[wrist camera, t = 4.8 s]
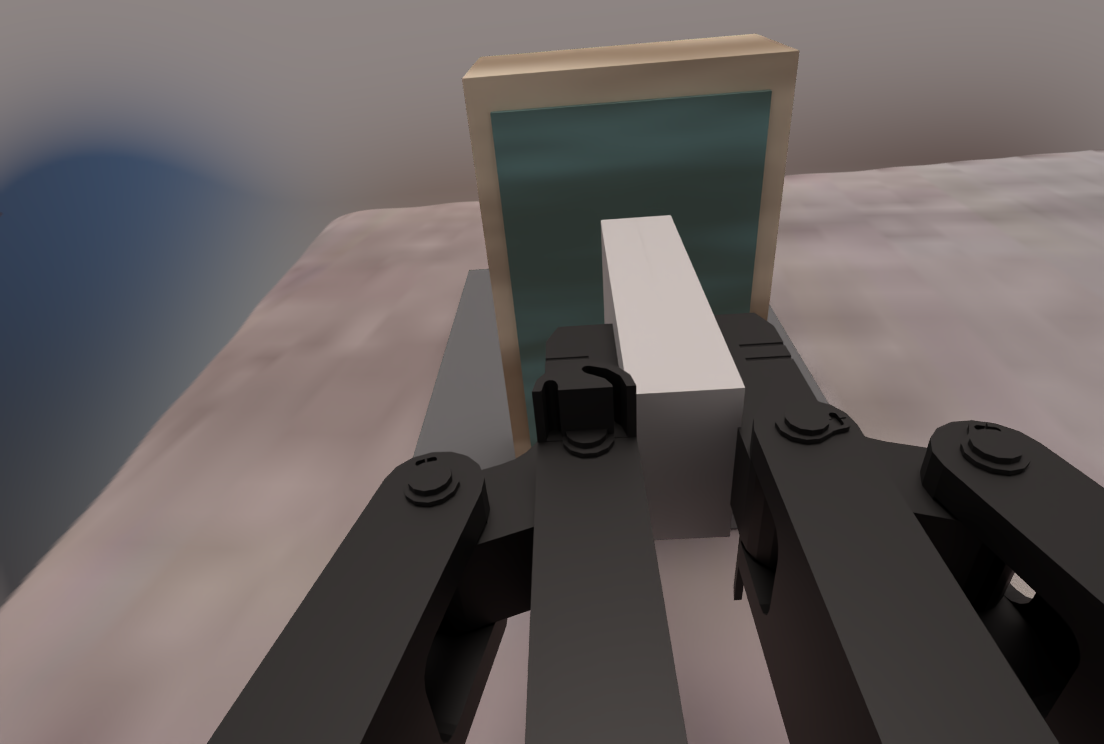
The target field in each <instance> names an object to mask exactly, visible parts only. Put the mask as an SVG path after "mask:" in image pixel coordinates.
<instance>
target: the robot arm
mask: <svg viewBox="0 0 1104 744" xmlns="http://www.w3.org/2000/svg"><path fill="white" fill-rule="evenodd" d="M601 241H602V268H603V295H604V321H605V324H596V325H580V326H564V327H557V329H556V330H555V331H554V332H553V334H552V335H551V336H550V338H549V339H548V340H547V341H546V355H545V360H546V362H545V373H544V374H543V375H542V376H541V377H540V378H538V379H537V380H536V382H535V385H534V387H533V390H532V399H533V407H534V416H535V425H536V433H537V442H536V444H535V445H534V446H533V447H531V448H530V449H529V450H528V451H527V452H526V453H524V454H522V455H521V456H519V457H517V458H516V459H514V460H511V461H508V462H506V463H503V464H500V465H497V466H493V467H490V468H486V469H483V470H481V468H480V465H479V464H478V463H476V462H475V461H474V460H473V459H471V458H470V457H469V456H466V455H463V454H459V453H455V452H431V453H427V454H424V455H420V456H416V457H413V458H411V459H410V460H408V461H406V462H404V463H403V464H401V465H399V466H397V467H396V468H395V469H394V470H393V471H392V472H391V473H390V474H389V475H388V476H387V477H386V478H385V479H384V481H383V482H382V484H381V485H380V487H379V488H378V490H377V491H376V493H375V494H374V496H373V497H372V499H371V500H370V502H369V503H368V505H367V506H366V508H365V509H364V511H363V512H362V514H361V515H360V517H359V518H358V520H357V521H356V522H355V524H354V525H353V527H352V528H351V530H350V531H349V533H348V534H347V536H346V537H345V539H344V540H343V542H342V543H341V545H340V546H339V548H338V549H337V551H336V552H335V554H334V555H333V557H332V558H331V560H330V561H329V563H328V564H327V566H326V567H325V569H324V570H323V572H322V573H321V575H320V576H319V578H318V579H317V581H316V582H315V583H314V585H313V586H312V588H311V589H310V591H309V592H308V594H307V595H306V597H305V598H304V600H303V601H302V603H301V604H300V606H299V607H298V609H297V610H296V612H295V613H294V615H293V616H292V618H291V619H290V621H289V622H288V624H287V625H286V627H285V628H284V630H283V631H282V633H281V634H280V636H279V637H278V639H277V640H276V642H275V643H274V645H273V646H272V647H271V649H270V650H269V652H268V653H267V655H266V656H265V658H264V659H263V661H262V662H261V664H260V665H259V667H258V668H257V670H256V671H255V673H254V674H253V676H252V677H251V679H250V680H249V682H248V683H247V685H246V686H245V688H244V689H243V691H242V692H241V694H240V695H239V697H238V698H237V700H236V701H235V703H234V704H233V706H232V707H231V708H230V710H229V711H228V713H227V714H226V716H225V717H224V719H223V720H222V722H221V723H220V725H219V726H218V728H217V729H216V731H215V732H214V734H213V735H212V737H211V738H210V740H209V741H208V743H207V744H465V742H466V739H467V736H468V734H469V731H470V728H471V725H472V722H473V719H474V716H475V714H476V711H477V708H478V705H479V702H480V699H481V696H482V694H483V691H484V688H485V685H486V682H487V679H488V676H489V674H490V671H491V668H492V665H493V662H494V659H495V657H496V654H497V651H498V648H499V645H500V642H501V639H502V637H503V634H504V631H505V628H506V624H507V618H509V617H512V616H514V615H517V614H520V613H523V612H526V611H529V610H531V612H530V636H529V660H528V684H527V708H526V732H525V744H688V743H687V737H686V731H685V725H684V719H683V713H682V707H681V701H680V695H679V689H678V683H677V677H676V671H675V665H674V659H673V653H672V647H671V641H670V635H669V629H668V623H667V617H666V611H665V604H664V598H663V592H662V586H661V580H660V574H659V568H658V562H657V556H656V550H655V544H654V540H664V539H685V538H707V537H729V536H730V529H731V519H732V512H733V515H734V518H735V522H736V525H737V528H738V531H739V534H740V537H739V545H738V554H737V562H736V571H735V579H734V600H742V593H743V585H744V587H745V591H746V594H747V598H748V601H749V605H750V608H751V611H752V615H753V618H754V622H755V625H756V629H757V632H758V636H759V639H760V642H761V646H762V649H763V653H764V656H765V660H766V663H767V667H768V670H769V674H770V677H771V680H772V684H773V687H774V691H775V694H776V698H777V701H778V705H779V708H780V711H781V715H782V718H783V722H784V725H785V729H786V732H787V736H788V739H789V742H790V744H1104V488H1103V487H1102V486H1100V485H1099V484H1098V483H1096V482H1095V481H1093V480H1092V479H1091V478H1089V477H1088V476H1086V475H1085V474H1083V473H1082V472H1081V471H1079V470H1078V469H1076V468H1075V467H1074V466H1072V465H1071V464H1069V463H1068V462H1066V461H1065V460H1064V459H1062V458H1061V457H1059V456H1058V455H1057V454H1055V453H1054V452H1052V451H1051V450H1050V449H1048V448H1047V447H1045V446H1044V445H1042V444H1041V443H1039V442H1038V441H1036V440H1034V439H1032V438H1030V437H1029V436H1027V435H1025V434H1023V433H1021V432H1020V431H1017V430H1014V429H1011V428H1007V427H1004V426H1001V425H998V424H995V423H989V422H980V421H973V420H970V421H958V422H950V423H948V424H946V425H943V426H941V427H939V428H937V429H936V431H935V432H934V434H933V435H932V436H931V438H930V441H929V444H928V447H927V448H925V447H918V446H912V445H905V444H898V443H892V442H885V441H881V440H876V439H871V438H868V437H865V436H864V434H863V433H862V431H861V430H860V428H859V427H858V425H857V424H856V423H855V422H854V421H853V420H852V419H851V418H850V417H849V416H848V415H847V414H846V413H845V412H843V411H841V410H839V409H837V408H835V407H834V406H832V405H830V404H826V403H823V402H819V401H818V400H817V399H816V397H815V395H814V393H813V392H812V390H811V388H810V387H809V385H808V383H807V381H806V380H805V378H804V376H803V375H802V373H801V371H800V369H799V368H798V366H797V364H796V363H795V361H794V359H791V354H790V352H789V351H788V349H787V347H786V345H784V344H783V340H782V339H781V337H780V335H779V333H778V332H777V330H776V328H775V327H774V325H772V324H771V323H769V322H768V321H766V320H765V319H763V318H762V317H760V316H759V315H757V314H756V313H738V314H722V315H714V314H713V312H712V310H711V307H710V305H709V303H708V300H707V298H706V296H705V294H704V291H703V289H702V287H701V284H700V282H699V280H698V277H697V275H696V273H695V270H694V268H693V266H692V263H691V261H690V259H689V256H688V254H687V252H686V250H685V247H684V245H683V243H682V240H681V238H680V236H679V233H678V231H677V229H676V226H675V224H674V222H673V219H672V217H671V215H665V216H651V217H637V218H623V219H609V220H601ZM1014 573H1016V574H1017V575H1018V576H1019V577H1020V578H1021V579H1023V580H1024V581H1025V582H1026V583H1027V584H1028V585H1029V586H1030V587H1031V588H1032V589H1033V590H1034V591H1035V592H1036V594H1035V596H1034V597H1033V599H1031V598H1028V597H1025V596H1024V595H1023V594H1021V593H1020V592H1019V591H1017V590H1016V589H1015V588H1014V587H1013V586H1012V585H1011V584H1010V581H1011V579H1012V577H1013V575H1014Z"/></svg>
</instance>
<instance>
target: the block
mask: <svg viewBox="0 0 1104 744" xmlns="http://www.w3.org/2000/svg"><path fill="white" fill-rule="evenodd" d="M798 58H799V50H796V49H794V48H791V47H789V46H786V45H783V44H781V43H778V42H776V41H773V40H771V39H768V38H766V37H763V36H761V35H758V34H748V35H736V36H724V37H712V38H700V39H688V40H677V41H665V42H653V43H642V44H630V45H617V46H606V47H594V48H582V49H570V50H558V51H546V52H535V53H523V54H510V55H499V56H487V57H480V58H479V59H478V60H477V61H476V63H475V64H474V65H473V66H472V67H471V69H470V70H469V71H468V72H467V73H466V74H465V76H464V77H463V78H462V82H463V88H464V96H465V103H466V110H467V117H468V124H469V131H470V138H471V145H472V153H473V160H474V167H475V174H476V180H477V188H478V195H479V202H480V209H481V216H482V223H483V231H484V238H485V245H486V252H487V259H488V266H489V273H490V280H491V287H492V294H493V301H494V308H495V316H496V323H497V330H498V337H499V344H500V351H501V358H502V365H503V372H504V379H505V386H506V393H507V401H508V408H509V415H510V422H511V429H512V436H513V443H514V450H515V457H516V458H517V457H519V456H521V455H522V454H524V453H526V452H527V451H528V450H529V449H530V448H531V447H533V446H534V445H535V444H536V442H537V433H536V425H535V416H534V407H533V399H532V390H533V387H534V385H535V382H536V380H537V379H538V378H540V377H541V376H542V375H543V374H544V373H545V362H546V360H545V355H546V341H547V340H548V339H549V338H550V336H551V335H552V334H553V332H554V331H555V330H556V329H557V327H564V326H580V325H596V324H605V321H604V295H603V268H602V241H601V220H609V219H623V218H637V217H651V216H665V215H671V217H672V219H673V222H674V224H675V226H676V229H677V231H678V233H679V236H680V238H681V240H682V243H683V245H684V247H685V250H686V252H687V254H688V256H689V259H690V261H691V263H692V266H693V268H694V270H695V273H696V275H697V277H698V280H699V282H700V284H701V287H702V289H703V291H704V294H705V296H706V298H707V300H708V303H709V305H710V307H711V310H712V312H713V314H714V315H722V314H738V313H756V314H757V315H759V316H760V317H762V318H763V319H765V320H766V321H767V318H768V310H769V301H770V293H771V285H772V276H773V268H774V259H775V251H776V243H777V234H778V226H779V218H780V209H781V201H782V192H783V184H784V176H785V167H786V159H787V150H788V142H789V134H790V125H791V117H792V109H793V100H794V92H795V83H796V75H797V66H798Z"/></svg>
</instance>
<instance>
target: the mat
mask: <svg viewBox="0 0 1104 744" xmlns="http://www.w3.org/2000/svg"><path fill="white" fill-rule="evenodd" d="M767 321H768V322H769V323H771V324H772V325H774V327H775V328H776V330H777V332H778V333H779V335H780V337H781V339H782V340H783V344H784V345H786V347H787V349H788V351H789V352H790V354H791V359H794V361H795V363H796V364H797V366H798V368H799V369H800V371H801V373H802V375H803V376H804V378H805V380H806V381H807V383H808V385H809V387H810V388H811V390H812V392H813V393H814V395H815V397H816V399H817V400H818V401H819V402H823V403H826V404H829V403H828V402H827V400H826V398H825V397H824V395H823V393H822V392H821V390H820V388H819V387H818V385H817V383H816V382H815V380H814V378H813V377H812V375H811V373H810V372H809V370H808V368H807V367H806V365H805V363H804V362H803V360H802V358H801V357H800V355H799V353H798V352H797V350H796V348H795V346H794V345H793V343H792V341H791V340H790V338H789V336H788V335H787V333H786V331H785V330H784V328H783V326H782V325H781V323H780V321H779V320H778V318H777V316H776V315H775V313H774V311H773V310H772V308H771V306H770V305H769V310H768V318H767ZM431 452H455V453H459V454H463V455H466V456H469V457H470V458H471V459H473V460H474V461H475V462H476V463H478V464H479V465H480V468H481V470H483V469H486V468H490V467H493V466H497V465H500V464H503V463H506V462H508V461H511V460H514V459H516V457H515V450H514V443H513V436H512V429H511V422H510V415H509V408H508V401H507V393H506V386H505V379H504V372H503V365H502V358H501V351H500V344H499V337H498V330H497V323H496V316H495V308H494V301H493V294H492V287H491V280H490V273H489V269H479V270H469V272H468V276H467V279H466V282H465V286H464V289H463V292H462V296H461V299H460V302H459V306H458V309H457V312H456V316H455V319H454V322H453V326H452V329H451V332H450V336H449V339H448V342H447V346H446V349H445V352H444V356H443V359H442V362H441V366H440V369H439V372H438V376H437V379H436V382H435V386H434V389H433V392H432V396H431V399H430V402H429V406H428V409H427V412H426V416H425V419H424V422H423V426H422V429H421V432H420V436H419V439H418V442H417V446H416V449H415V452H414V456H413V457H416V456H420V455H424V454H427V453H431ZM731 528H737V525H736V522H735V518H734V515H733V512H732V519H731Z"/></svg>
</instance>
